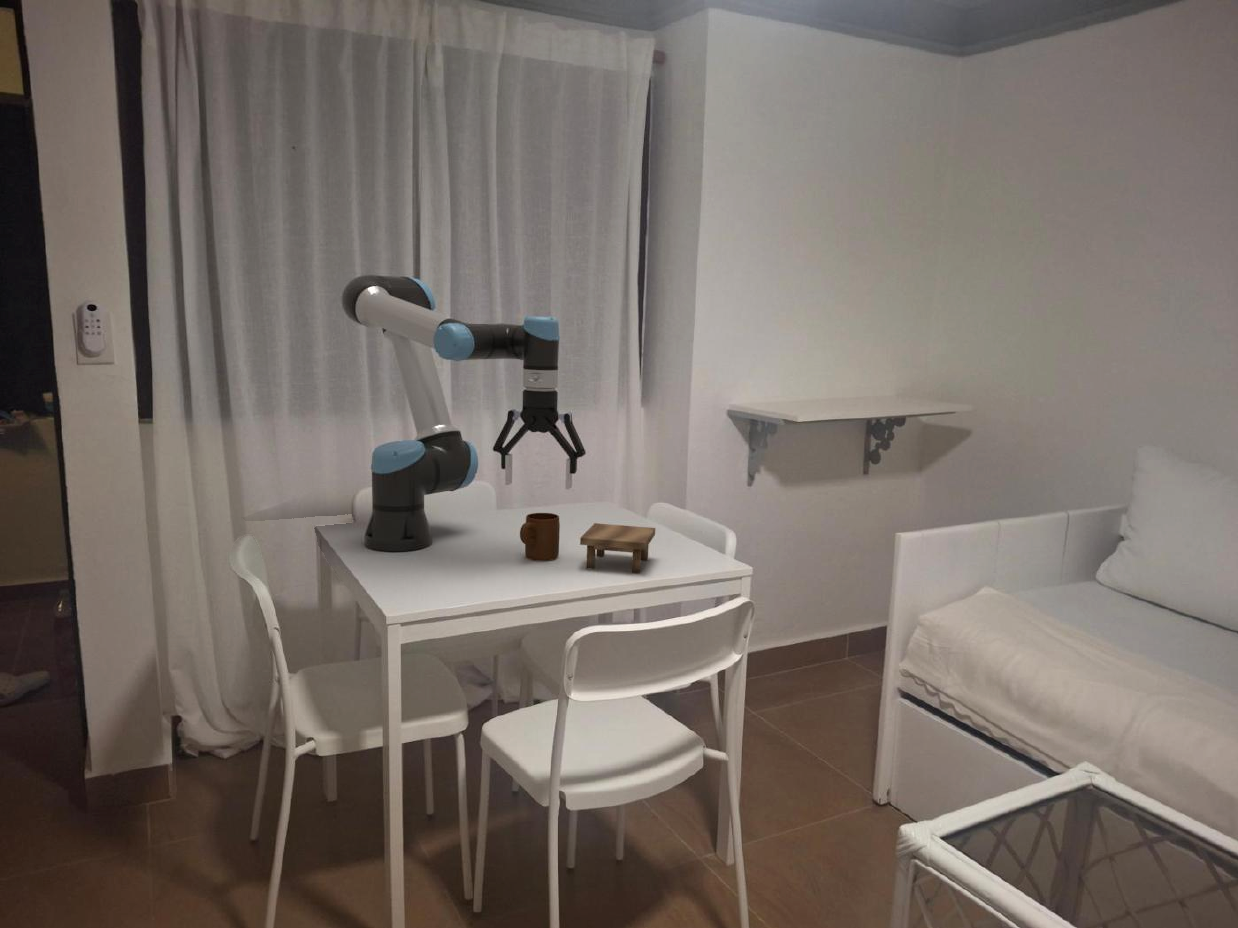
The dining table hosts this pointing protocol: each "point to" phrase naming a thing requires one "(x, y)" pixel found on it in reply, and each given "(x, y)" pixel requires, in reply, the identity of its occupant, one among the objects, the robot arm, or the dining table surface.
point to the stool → (617, 542)
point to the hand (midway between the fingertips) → (538, 486)
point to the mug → (541, 536)
